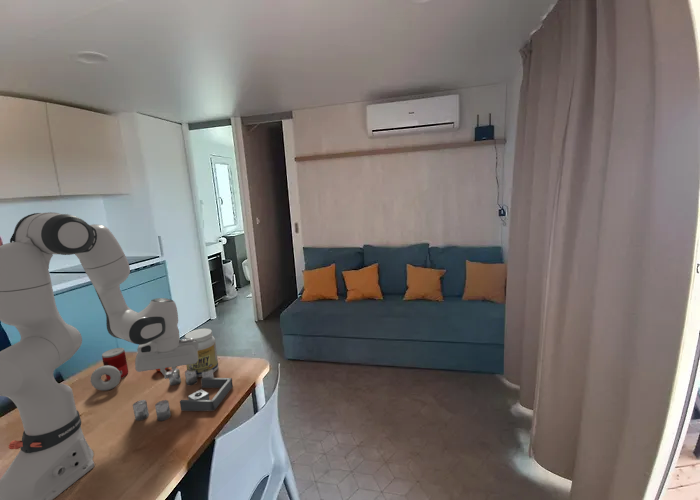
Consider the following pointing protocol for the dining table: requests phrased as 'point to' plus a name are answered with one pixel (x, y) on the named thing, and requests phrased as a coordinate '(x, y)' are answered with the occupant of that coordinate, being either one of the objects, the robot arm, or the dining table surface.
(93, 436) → the dining table surface
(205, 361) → the supplement tub
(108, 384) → the donut
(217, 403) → the tray
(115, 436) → the dining table surface
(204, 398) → the grey square block
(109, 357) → the canned food
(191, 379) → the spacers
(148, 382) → the dining table surface
